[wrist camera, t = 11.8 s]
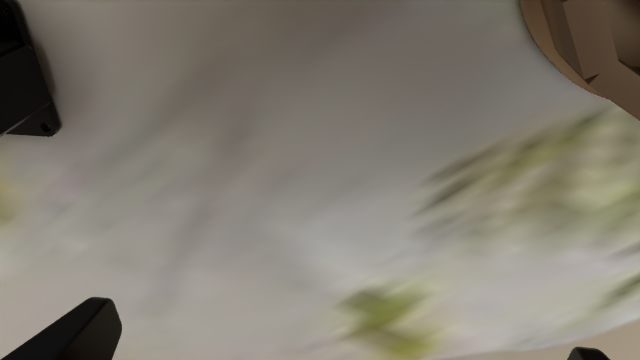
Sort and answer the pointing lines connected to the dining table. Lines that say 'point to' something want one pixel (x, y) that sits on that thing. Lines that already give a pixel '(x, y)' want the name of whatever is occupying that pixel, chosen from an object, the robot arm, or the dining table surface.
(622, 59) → the collar stand
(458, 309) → the dining table surface
